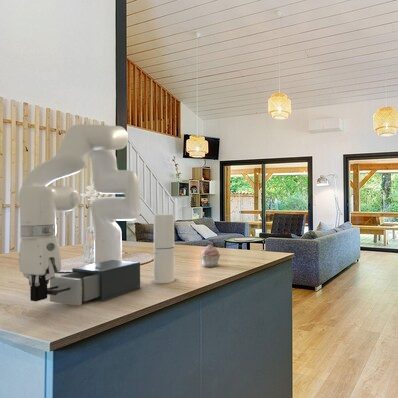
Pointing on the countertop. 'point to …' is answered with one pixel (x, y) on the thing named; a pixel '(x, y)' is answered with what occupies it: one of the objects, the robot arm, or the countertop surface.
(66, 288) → the drawer
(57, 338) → the countertop surface
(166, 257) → the cylindrical container
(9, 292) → the countertop surface
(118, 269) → the cabinet
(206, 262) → the cupcake
